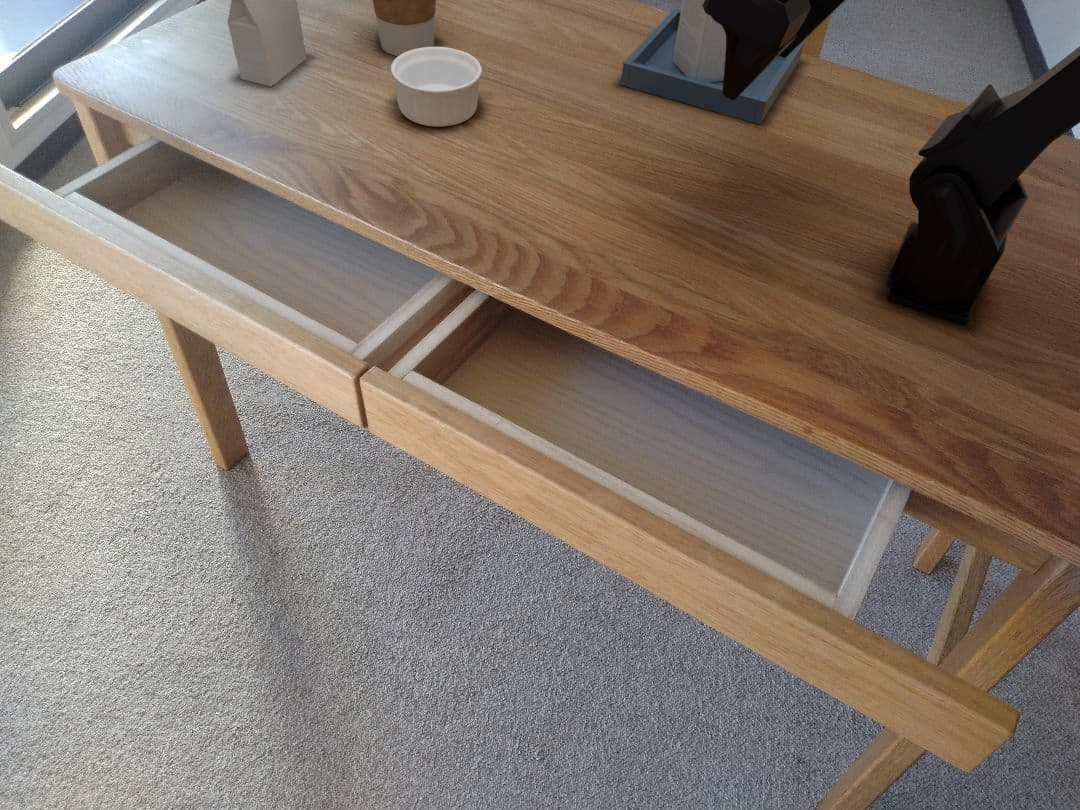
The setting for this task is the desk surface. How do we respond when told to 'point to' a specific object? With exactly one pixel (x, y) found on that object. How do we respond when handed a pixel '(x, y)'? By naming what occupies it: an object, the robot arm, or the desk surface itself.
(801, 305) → the desk surface
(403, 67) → the ramekin
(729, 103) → the tray
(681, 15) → the small box
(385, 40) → the coffee cup
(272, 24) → the grey carton
